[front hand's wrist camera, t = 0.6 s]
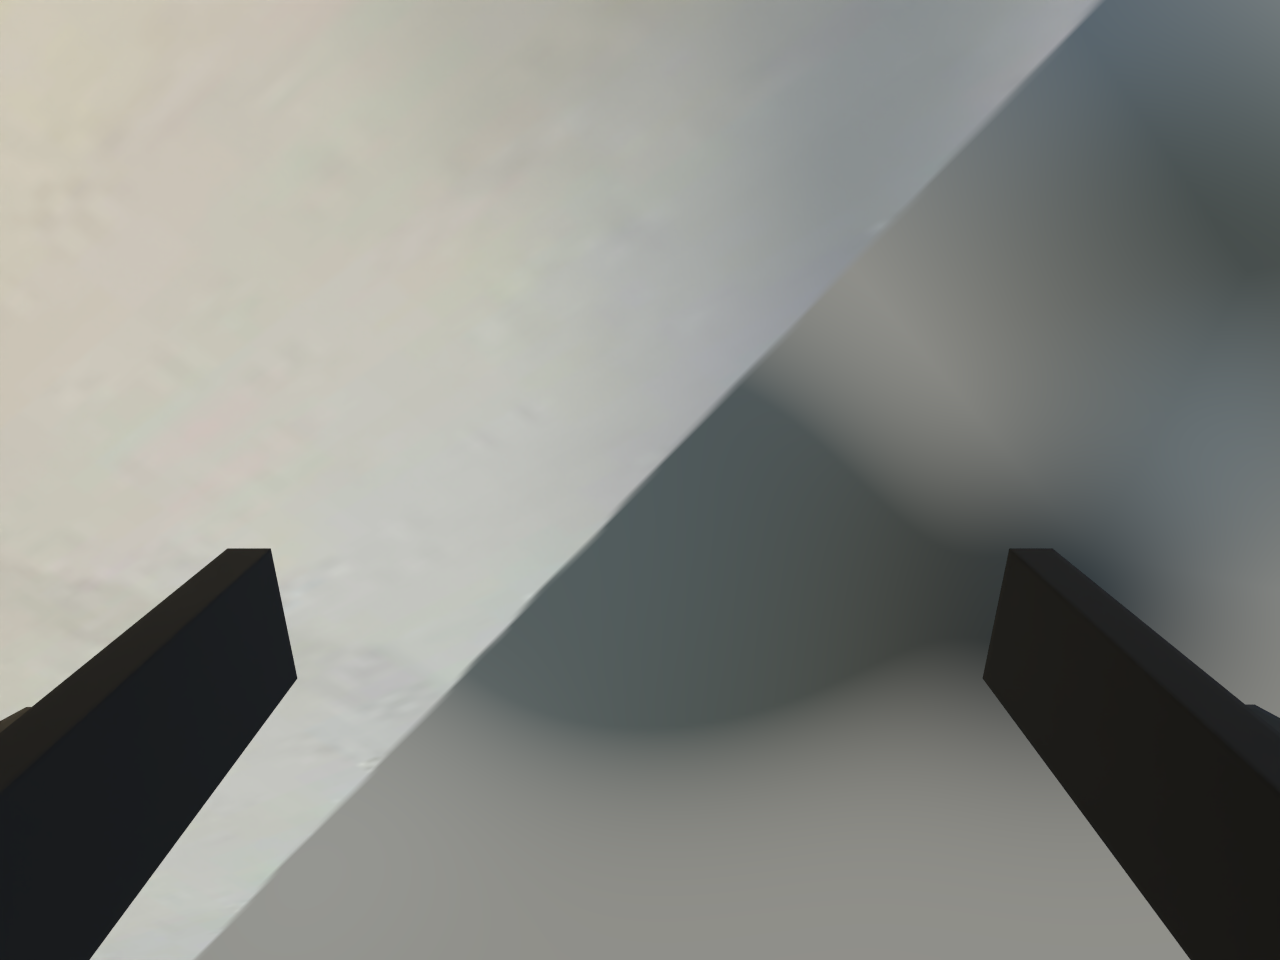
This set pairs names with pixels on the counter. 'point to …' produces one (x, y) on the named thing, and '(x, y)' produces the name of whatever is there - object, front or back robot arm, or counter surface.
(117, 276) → the counter surface
